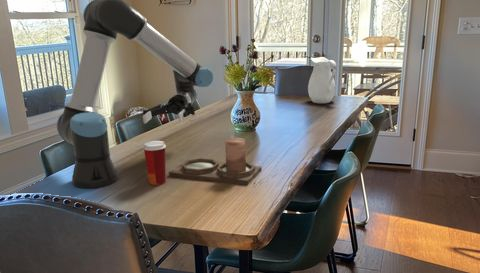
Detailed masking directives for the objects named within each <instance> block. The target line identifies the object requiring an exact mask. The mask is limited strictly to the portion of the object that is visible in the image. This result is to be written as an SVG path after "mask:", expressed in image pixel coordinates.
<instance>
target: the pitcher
mask: <svg viewBox="0 0 480 273" xmlns="http://www.w3.org/2000/svg"><path fill="white" fill-rule="evenodd" d="M310 60H311V62H312V65H313V69H312V72H311V74H310V77H309V81H308V86H307V91H308V96H309V99H310V100H311V102H312V103H313V104H329V103H331V101H332V99H333V98H334V96H335V93H336V84H335V83H336V82H335V78H334V77H335V76H336V73H337V70H338V69H337V63H336V62H335V60H332V59H330V60H329V59H328V58H326V57H324V56H319V57H310ZM331 66H332V68H331Z"/></svg>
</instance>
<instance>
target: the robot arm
mask: <svg viewBox="0 0 480 273" xmlns="http://www.w3.org/2000/svg"><path fill="white" fill-rule="evenodd" d="M82 18H83V21H84V26H83V30H82V31H83V33H84V35H85V41H84V46H83V48H82V55H81V58H80V61H79V66H78V70H77V74H76V78H75V83H74V87H73V90H72V95H71V99H70V101H69V102H68V103H66V104H65V105H64V108H63V112H62V113H61V115H60V116H58V118H57V121H56V131H57V133H58V135H59V137H60V138H62V140H63V141H64V142H67V143H68V144H70V145H72V146H73V154H74V161H75V163H74V165H73V166H74V168H73V171H72V172H73V174H72V177H71V178H72V179H71V180H72V185H73V186H74V187H76V188H80V189H94V188H101V187H104V186H108V185H111V184H113V183H115V182H116V181H117V180H118V172H117V170H116V168H115V165H114V163H113V161H112V159H111V154H110V142H109V132H108V123H107V119H106V117H105V116H104V115H102V114H101V113H99V111H98V110H97V108H96V103H97V99H98V96H99V92H100V89H101V88H100V87H101V85H102V80H103V75H104V71H105V68H106V63H107V60H108V59H107V58H108V55H109V50H110V47H111V45H112V44H113V43H114V42H116V40H117V37H118V34H119V35H121V36H123V37H124V38H126V39H127V40H129V41H135V42H136V43H138V44H139V45H140V46H142V48H144V49H146V50H147V51H149V52H150V53H151V54H152V55H153V56H155V57H157V58H158V59H159V60H160V61H162V62H163V63H165V65H167V66H169V67H170V68H171V69H172V73H173V79H174V83H175V84H174V85H175V91H176V93H175V94H173V96H171V97H170V98H169V100H168V102H167V103H166V104H164V105H162V104H161V103H159V104H158V105H155V106H153V107H151V108H148V109H145V110H142V114H143V115H142V122H143V124H147V123H148V122H149V121H150V120H152V118H153V117H158V116H161V115H168V114H173V115H177V116H178V122H182V121H183V120H185V118H187V117H189V116H190V115H191V116H195V115H196V113H195V107H194V106H193V104H194V103H195V102H196V100H197V98H198V91H197V89H196V88H195V87H199V88H207V87H209V86H210V85H211V84H212V83H213V81H214V72H213V71H212V70H211V69H210V68H208V67H206V66H205V67H203V66H202V65H200V63H198V62H196V61H195V60H194V59H193V58H192V57H190V56H189V55H188V54H187V53H185V52H184V51H183V50H181V49H180V48H179V47H178V46H177V45H175V44H174V43H173V42H172V41H170V40H169V39H168V38H167V37H165V36H164V35H163V34H162V33H160V32H159V31H158V30H156V28H154V27H153V26H152V25H151V24H149V23H148V21H147V18H146V17H145V16H144V15H143V14H141V13H140V12H139V11H138V10H136V9H135V8H134V6H133V7H132V6H131V5H130V4H129V3H127V2H126V1H124V0H92V1H90V2H89V3H87V5H86V6H85V8H84V10H83V17H82Z"/></svg>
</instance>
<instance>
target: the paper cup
mask: <svg viewBox="0 0 480 273" xmlns="http://www.w3.org/2000/svg"><path fill="white" fill-rule="evenodd" d="M166 147H167V145H166V143H165V141H162V140H150V141H147V142H144V144H143V146H142V150H143V151H144V158H145V163H146V164H145V165H146V171H147V176H148V184H150V185H152V186H160V185H163V184H165V183H166V178H167V177H166Z"/></svg>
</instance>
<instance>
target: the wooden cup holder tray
mask: <svg viewBox="0 0 480 273" xmlns="http://www.w3.org/2000/svg"><path fill="white" fill-rule="evenodd" d="M224 143H225V144H224V145H225V147H224V148H225V162H219V161H217V160H216V159H213V158H206V157H200V158H192V159H187V160H185V161H183V162H181V164H179V165H177V166H176V167H174V168H173V169H172V170H170V171H168V177H173V178H183V179H192V180H201V181H210V182H217V183H219V182H220V183H226V184H237V185H246V186H249V184H251V183H252V181H253V180H254V179H255V178H256V177H257V176H258V175H259V174H260V173H261V172H262V166H258V165H253V163H251V162H248V161H247V159H246V158H247V157H246V156H247V155H246V152H247V151H246V139H244V138H243V137H242V138H241V137H231V138H227V139H225V141H224Z"/></svg>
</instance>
